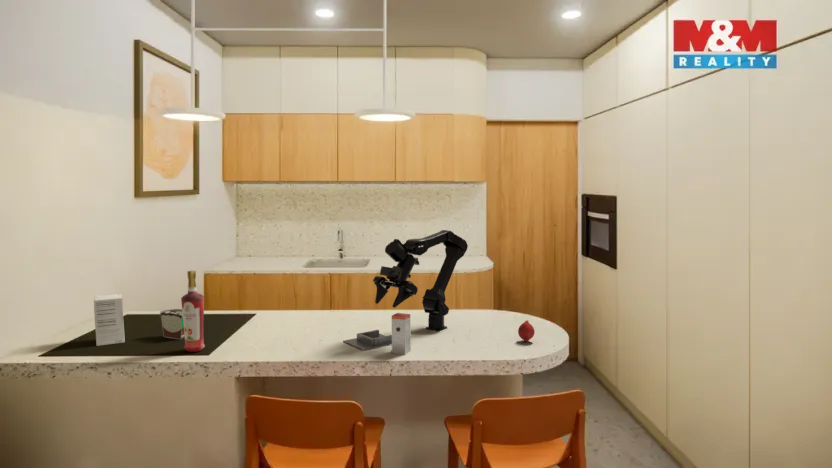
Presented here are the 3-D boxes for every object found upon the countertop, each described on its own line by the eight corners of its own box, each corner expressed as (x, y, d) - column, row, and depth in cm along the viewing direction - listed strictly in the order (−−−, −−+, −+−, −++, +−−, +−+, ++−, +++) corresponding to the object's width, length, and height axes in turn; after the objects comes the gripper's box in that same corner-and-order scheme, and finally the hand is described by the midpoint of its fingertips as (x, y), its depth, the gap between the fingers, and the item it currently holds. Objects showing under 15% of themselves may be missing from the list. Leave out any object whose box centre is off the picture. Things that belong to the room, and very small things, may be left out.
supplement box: (96, 339, 205) (93, 295, 204) (123, 336, 210) (121, 293, 208) (96, 346, 197) (93, 300, 195) (125, 342, 201) (122, 297, 200)
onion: (524, 344, 196) (525, 322, 195) (514, 340, 201) (515, 319, 200) (537, 342, 199) (537, 320, 198) (527, 338, 204) (527, 317, 203)
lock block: (397, 349, 191) (397, 312, 190) (410, 351, 189) (410, 314, 188) (391, 353, 187) (391, 315, 186) (404, 354, 185) (404, 317, 184)
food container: (196, 336, 210) (195, 310, 209) (184, 340, 204) (182, 313, 203) (173, 332, 215) (172, 307, 214) (160, 336, 209) (159, 310, 208)
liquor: (179, 353, 188) (175, 272, 185) (189, 347, 195) (186, 269, 192) (200, 353, 187) (197, 272, 185) (209, 347, 195) (206, 269, 192)
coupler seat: (379, 334, 210) (379, 327, 210) (400, 342, 199) (400, 335, 199) (343, 341, 201) (342, 334, 200) (363, 350, 190) (363, 343, 189)
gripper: (374, 254, 205) (354, 290, 199) (409, 259, 192) (389, 297, 186) (391, 270, 212) (372, 305, 206) (426, 275, 199) (407, 313, 193)
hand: (384, 305), depth 197 cm, fingers open, 9 cm apart
